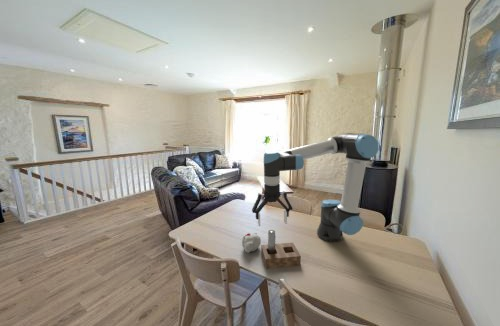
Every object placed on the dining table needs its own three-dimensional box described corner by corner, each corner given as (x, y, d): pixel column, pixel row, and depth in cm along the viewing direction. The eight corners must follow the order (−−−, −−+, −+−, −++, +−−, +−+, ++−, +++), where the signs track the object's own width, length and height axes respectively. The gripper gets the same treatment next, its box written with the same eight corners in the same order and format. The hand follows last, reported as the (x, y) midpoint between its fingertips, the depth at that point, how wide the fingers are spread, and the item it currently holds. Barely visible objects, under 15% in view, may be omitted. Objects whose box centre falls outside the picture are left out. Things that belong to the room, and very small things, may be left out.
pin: (274, 255, 108) (274, 229, 106) (275, 259, 105) (276, 233, 102) (267, 255, 108) (267, 230, 105) (269, 260, 105) (269, 233, 102)
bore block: (292, 250, 114) (293, 242, 113) (300, 264, 102) (300, 256, 101) (261, 253, 112) (261, 245, 111) (265, 268, 100) (265, 259, 99)
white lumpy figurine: (246, 257, 108) (238, 245, 122) (265, 252, 112) (255, 241, 126) (245, 241, 107) (237, 230, 121) (264, 236, 111) (254, 227, 125)
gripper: (294, 179, 104) (293, 218, 108) (245, 183, 101) (247, 222, 105) (299, 184, 96) (298, 225, 100) (247, 187, 94) (248, 229, 98)
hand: (272, 223), depth 103 cm, fingers open, 13 cm apart
